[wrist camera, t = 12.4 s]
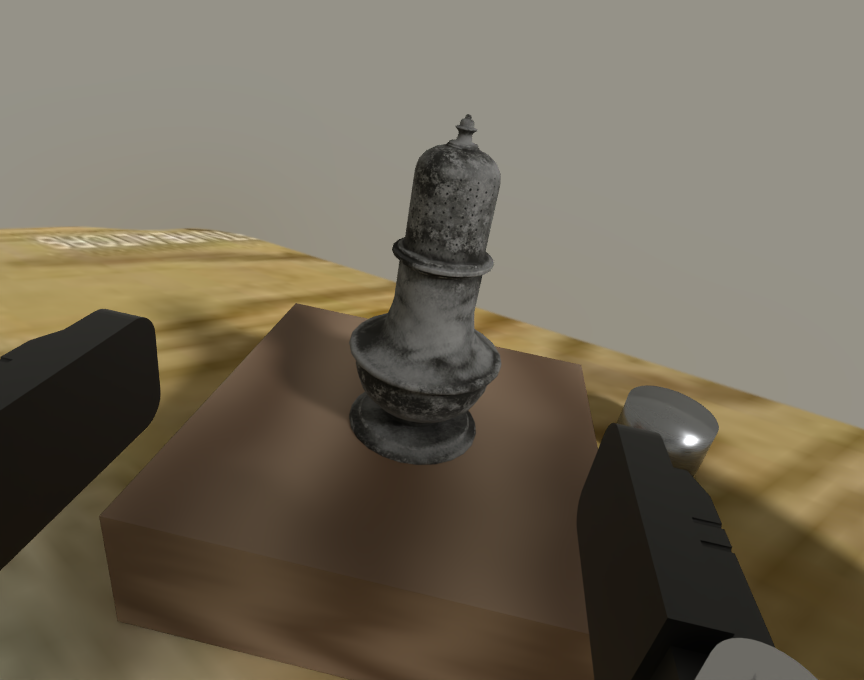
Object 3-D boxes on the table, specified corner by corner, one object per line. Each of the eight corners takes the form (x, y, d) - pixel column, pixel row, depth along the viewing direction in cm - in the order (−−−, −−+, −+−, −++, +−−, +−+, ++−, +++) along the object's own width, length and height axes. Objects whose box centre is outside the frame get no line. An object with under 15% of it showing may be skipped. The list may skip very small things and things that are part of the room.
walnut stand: (556, 437, 32) (581, 364, 29) (584, 737, 18) (636, 645, 15) (292, 378, 33) (295, 303, 30) (117, 620, 18) (99, 516, 16)
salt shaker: (511, 443, 22) (601, 140, 17) (390, 490, 19) (452, 129, 13) (428, 370, 26) (479, 104, 21) (316, 399, 23) (340, 89, 17)
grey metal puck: (684, 435, 34) (703, 396, 33) (708, 489, 30) (731, 448, 29) (606, 417, 35) (621, 378, 33) (618, 469, 30) (636, 426, 29)
